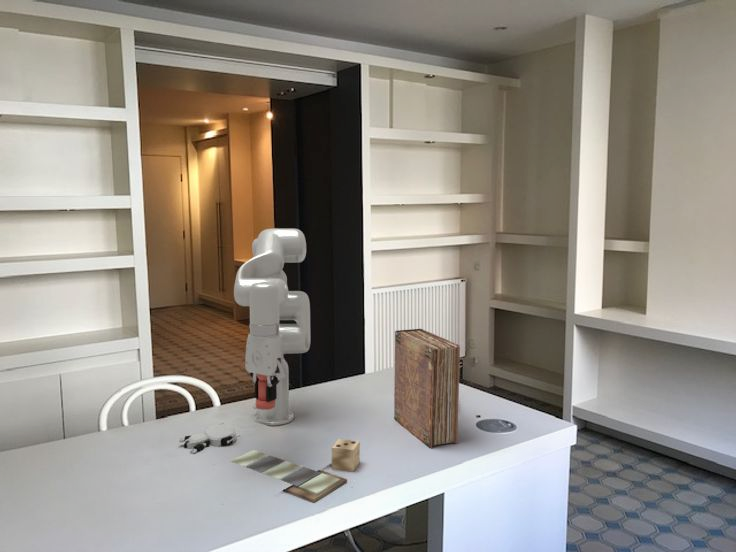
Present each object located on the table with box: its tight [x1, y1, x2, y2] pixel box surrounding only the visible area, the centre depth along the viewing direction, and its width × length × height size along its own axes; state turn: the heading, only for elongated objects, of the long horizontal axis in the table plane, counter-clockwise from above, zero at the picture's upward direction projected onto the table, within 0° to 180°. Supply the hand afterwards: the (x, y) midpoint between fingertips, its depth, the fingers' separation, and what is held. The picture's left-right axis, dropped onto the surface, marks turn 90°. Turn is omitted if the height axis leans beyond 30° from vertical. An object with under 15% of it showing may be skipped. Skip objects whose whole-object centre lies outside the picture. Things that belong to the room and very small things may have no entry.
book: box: [393, 328, 461, 449], centre depth 183 cm, size 25×9×30 cm, turn 22°
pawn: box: [255, 374, 275, 410], centre depth 155 cm, size 5×5×11 cm
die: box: [331, 438, 361, 473], centre depth 160 cm, size 6×6×6 cm
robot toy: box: [178, 422, 241, 454], centre depth 172 cm, size 12×4×15 cm
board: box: [229, 449, 348, 504], centre depth 154 cm, size 32×13×1 cm, turn 55°
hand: (265, 398), depth 155 cm, fingers closed on pawn, 3 cm apart
